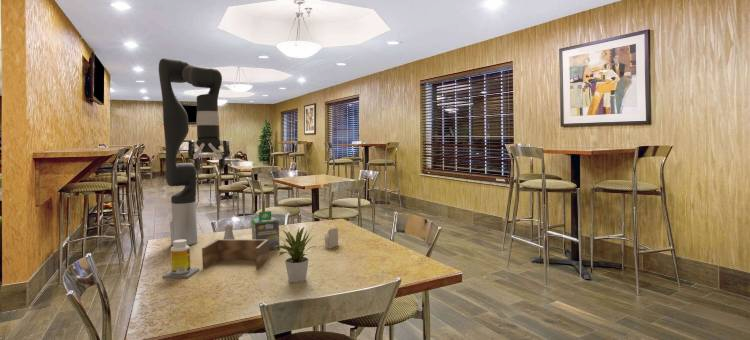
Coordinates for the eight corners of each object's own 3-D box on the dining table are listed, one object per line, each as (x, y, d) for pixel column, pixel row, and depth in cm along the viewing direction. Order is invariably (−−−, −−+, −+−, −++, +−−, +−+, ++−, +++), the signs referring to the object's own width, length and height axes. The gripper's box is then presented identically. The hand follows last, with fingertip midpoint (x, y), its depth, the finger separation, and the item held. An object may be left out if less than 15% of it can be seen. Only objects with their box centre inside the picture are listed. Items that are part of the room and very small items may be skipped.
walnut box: (202, 268, 144) (201, 248, 144) (217, 258, 156) (216, 239, 156) (259, 268, 143) (258, 248, 143) (269, 258, 155) (268, 239, 155)
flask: (233, 254, 162) (232, 227, 162) (215, 253, 164) (214, 227, 163) (242, 249, 169) (241, 223, 169) (225, 248, 171) (224, 223, 170)
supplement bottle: (191, 273, 138) (189, 241, 137) (171, 275, 135) (170, 243, 134) (190, 268, 143) (188, 237, 142) (171, 270, 140) (170, 239, 139)
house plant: (279, 271, 141) (278, 221, 140) (322, 271, 140) (321, 221, 139) (267, 286, 127) (266, 231, 125) (314, 286, 126) (313, 231, 125)
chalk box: (274, 244, 176) (273, 208, 175) (280, 249, 168) (279, 211, 167) (251, 247, 172) (250, 210, 171) (256, 252, 164) (254, 213, 163)
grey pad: (162, 278, 135) (162, 276, 135) (175, 270, 143) (175, 268, 143) (188, 278, 135) (187, 276, 135) (199, 270, 143) (199, 268, 143)
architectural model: (322, 247, 171) (321, 228, 171) (333, 243, 177) (333, 225, 176) (328, 248, 169) (328, 229, 169) (340, 245, 175) (339, 226, 174)
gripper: (231, 124, 158) (233, 168, 160) (193, 124, 159) (195, 168, 160) (223, 123, 151) (225, 170, 152) (183, 124, 152) (185, 170, 153)
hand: (209, 169), depth 156 cm, fingers open, 8 cm apart
